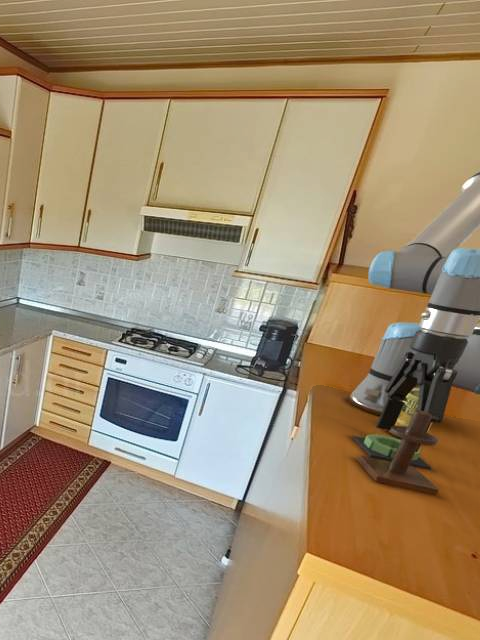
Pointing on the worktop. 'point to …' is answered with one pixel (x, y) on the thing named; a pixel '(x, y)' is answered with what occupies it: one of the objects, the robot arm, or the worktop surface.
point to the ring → (385, 445)
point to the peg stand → (404, 457)
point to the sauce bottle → (415, 402)
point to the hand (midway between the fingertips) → (395, 438)
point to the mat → (374, 454)
